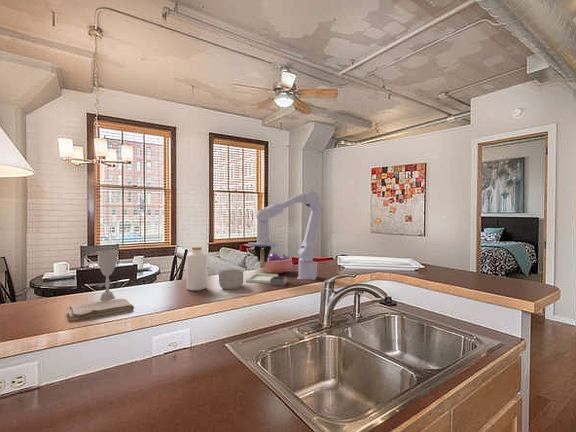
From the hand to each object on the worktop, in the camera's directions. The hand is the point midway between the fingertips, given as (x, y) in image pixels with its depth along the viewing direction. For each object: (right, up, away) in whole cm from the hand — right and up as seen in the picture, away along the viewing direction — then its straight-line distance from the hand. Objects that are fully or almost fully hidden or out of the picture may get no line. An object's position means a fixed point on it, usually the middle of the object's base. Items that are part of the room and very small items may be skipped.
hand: (262, 261), depth 152 cm
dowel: (0, -3, 0) cm, 3 cm away
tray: (0, -9, 0) cm, 9 cm away
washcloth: (-50, -10, -49) cm, 71 cm away
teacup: (-11, -10, -16) cm, 22 cm away
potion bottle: (-27, -9, -18) cm, 34 cm away
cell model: (+6, -9, +18) cm, 21 cm away
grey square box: (+8, -9, -10) cm, 16 cm away
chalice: (-57, -9, -33) cm, 67 cm away
